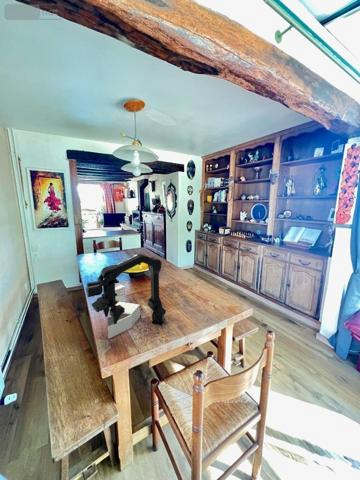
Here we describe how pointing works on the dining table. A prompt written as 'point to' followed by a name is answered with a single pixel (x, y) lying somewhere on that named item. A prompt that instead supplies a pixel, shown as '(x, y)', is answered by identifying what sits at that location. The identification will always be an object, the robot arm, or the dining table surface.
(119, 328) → the front flap
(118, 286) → the ink cartridge box
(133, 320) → the carton
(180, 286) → the dining table surface
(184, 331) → the dining table surface
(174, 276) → the dining table surface
